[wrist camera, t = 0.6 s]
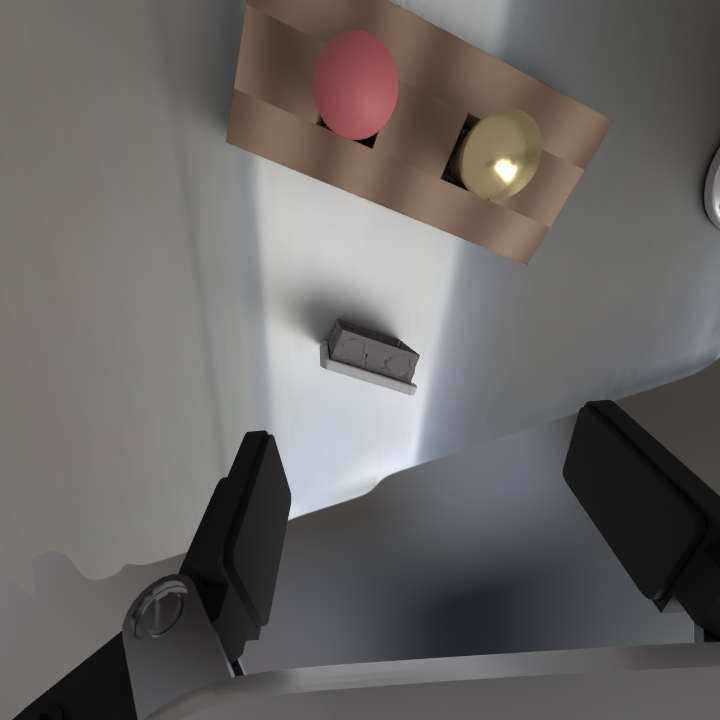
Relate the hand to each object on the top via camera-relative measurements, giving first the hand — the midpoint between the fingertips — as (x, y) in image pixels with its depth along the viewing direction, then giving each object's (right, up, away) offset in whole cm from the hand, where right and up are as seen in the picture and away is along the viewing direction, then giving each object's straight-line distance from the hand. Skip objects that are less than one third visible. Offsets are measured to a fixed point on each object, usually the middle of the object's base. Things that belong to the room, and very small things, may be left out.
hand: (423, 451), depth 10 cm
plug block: (+2, +22, +18) cm, 29 cm away
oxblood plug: (-2, +22, +15) cm, 26 cm away
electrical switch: (-2, +6, +28) cm, 28 cm away
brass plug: (+7, +19, +16) cm, 26 cm away
